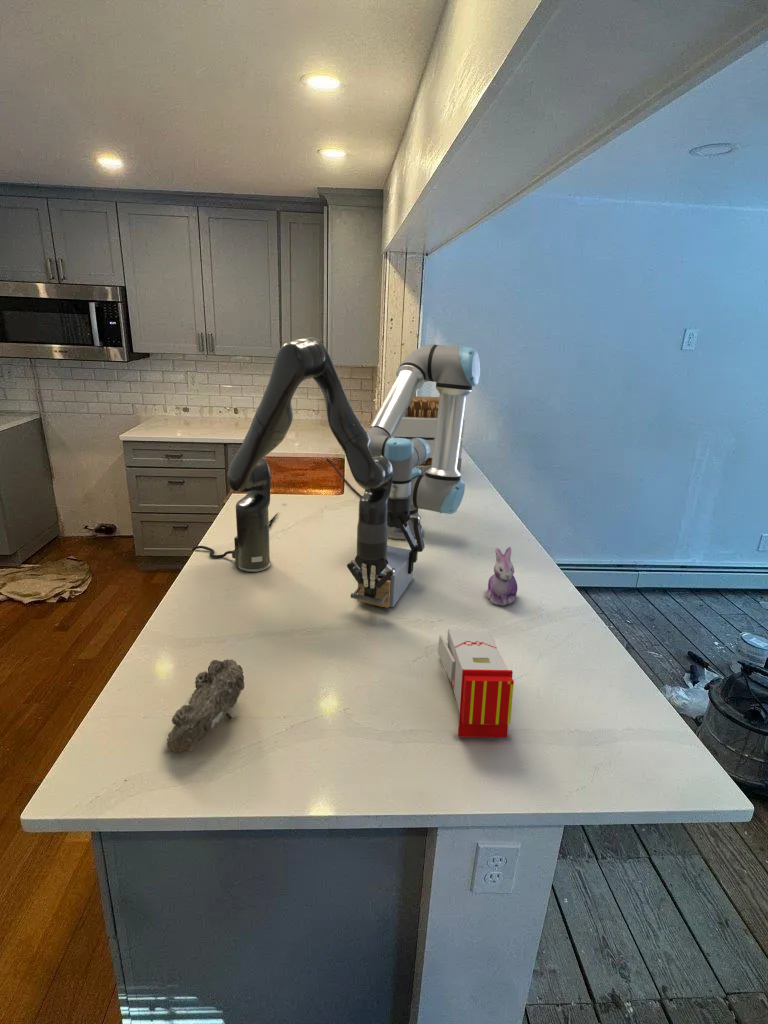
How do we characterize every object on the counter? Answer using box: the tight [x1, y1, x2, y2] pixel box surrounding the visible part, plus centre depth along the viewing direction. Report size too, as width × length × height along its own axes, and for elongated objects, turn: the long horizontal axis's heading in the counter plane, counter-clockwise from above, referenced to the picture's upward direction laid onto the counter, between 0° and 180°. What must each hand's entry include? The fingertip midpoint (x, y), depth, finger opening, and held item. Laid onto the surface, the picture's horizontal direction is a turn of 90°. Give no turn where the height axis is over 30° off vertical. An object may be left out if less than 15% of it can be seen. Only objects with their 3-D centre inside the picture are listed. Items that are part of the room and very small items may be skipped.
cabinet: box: [360, 545, 414, 608], centre depth 158 cm, size 18×10×9 cm, turn 161°
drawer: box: [350, 576, 391, 609], centre depth 154 cm, size 22×9×8 cm, turn 161°
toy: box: [437, 628, 515, 738], centre depth 117 cm, size 12×13×30 cm
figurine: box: [486, 546, 518, 606], centre depth 155 cm, size 9×10×15 cm
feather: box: [269, 512, 279, 528], centre depth 210 cm, size 2×28×2 cm
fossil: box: [166, 658, 245, 754], centre depth 106 cm, size 22×10×15 cm
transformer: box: [393, 395, 465, 475], centre depth 268 cm, size 34×33×41 cm
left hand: (370, 599), depth 146 cm, fingers closed
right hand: (392, 568), depth 163 cm, fingers closed on cabinet, 10 cm apart
